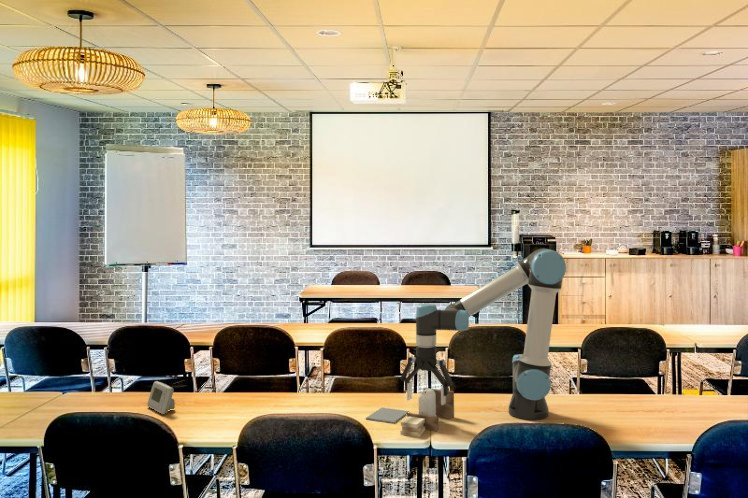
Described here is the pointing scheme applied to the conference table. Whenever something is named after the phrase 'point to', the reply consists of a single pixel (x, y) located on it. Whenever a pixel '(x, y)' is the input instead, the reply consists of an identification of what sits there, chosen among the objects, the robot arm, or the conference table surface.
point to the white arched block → (427, 403)
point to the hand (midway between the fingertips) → (426, 401)
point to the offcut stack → (413, 426)
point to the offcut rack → (437, 411)
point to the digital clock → (161, 398)
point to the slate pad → (387, 415)
